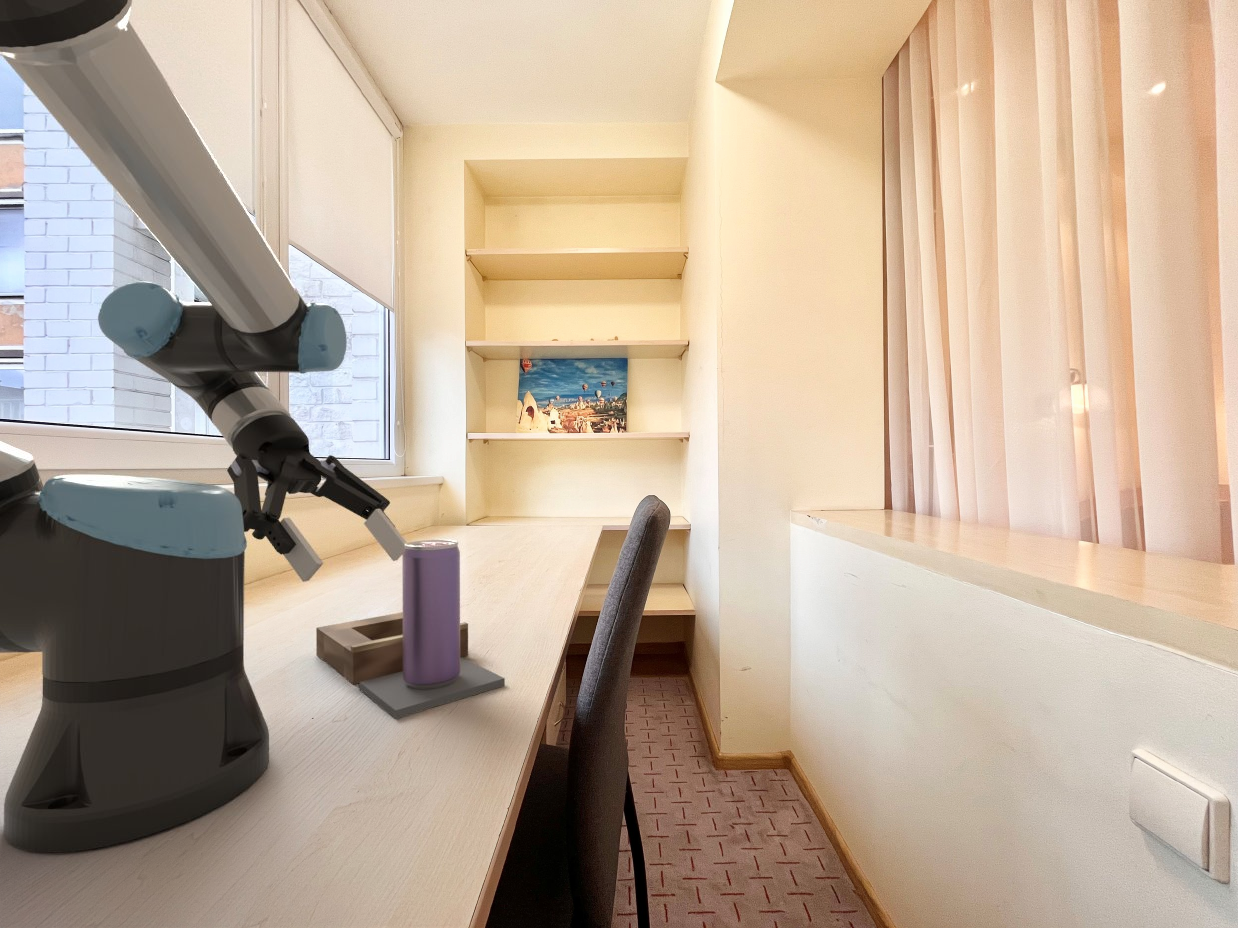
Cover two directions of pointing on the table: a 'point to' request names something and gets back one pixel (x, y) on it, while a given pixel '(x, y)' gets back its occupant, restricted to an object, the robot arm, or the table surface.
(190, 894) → the table surface
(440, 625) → the beverage can
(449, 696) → the rubber mat
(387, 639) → the can holder
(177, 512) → the robot arm
